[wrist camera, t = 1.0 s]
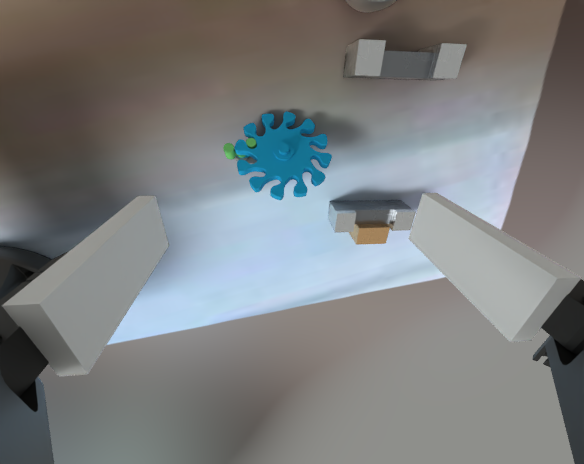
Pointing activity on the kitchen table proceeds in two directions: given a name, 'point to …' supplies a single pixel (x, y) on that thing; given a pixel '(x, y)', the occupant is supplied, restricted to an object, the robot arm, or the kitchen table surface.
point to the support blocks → (388, 65)
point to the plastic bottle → (369, 5)
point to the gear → (280, 154)
